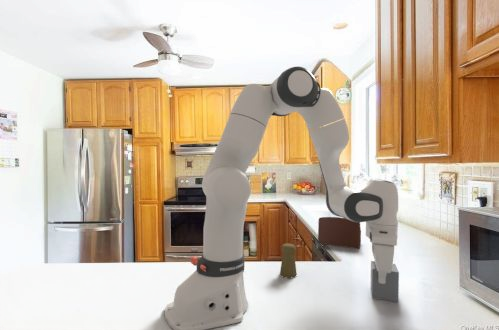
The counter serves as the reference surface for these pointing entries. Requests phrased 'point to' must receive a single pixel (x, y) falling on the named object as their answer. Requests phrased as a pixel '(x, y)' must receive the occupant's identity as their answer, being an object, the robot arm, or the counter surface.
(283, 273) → the cork
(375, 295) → the block
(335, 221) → the letter holder
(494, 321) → the counter surface
